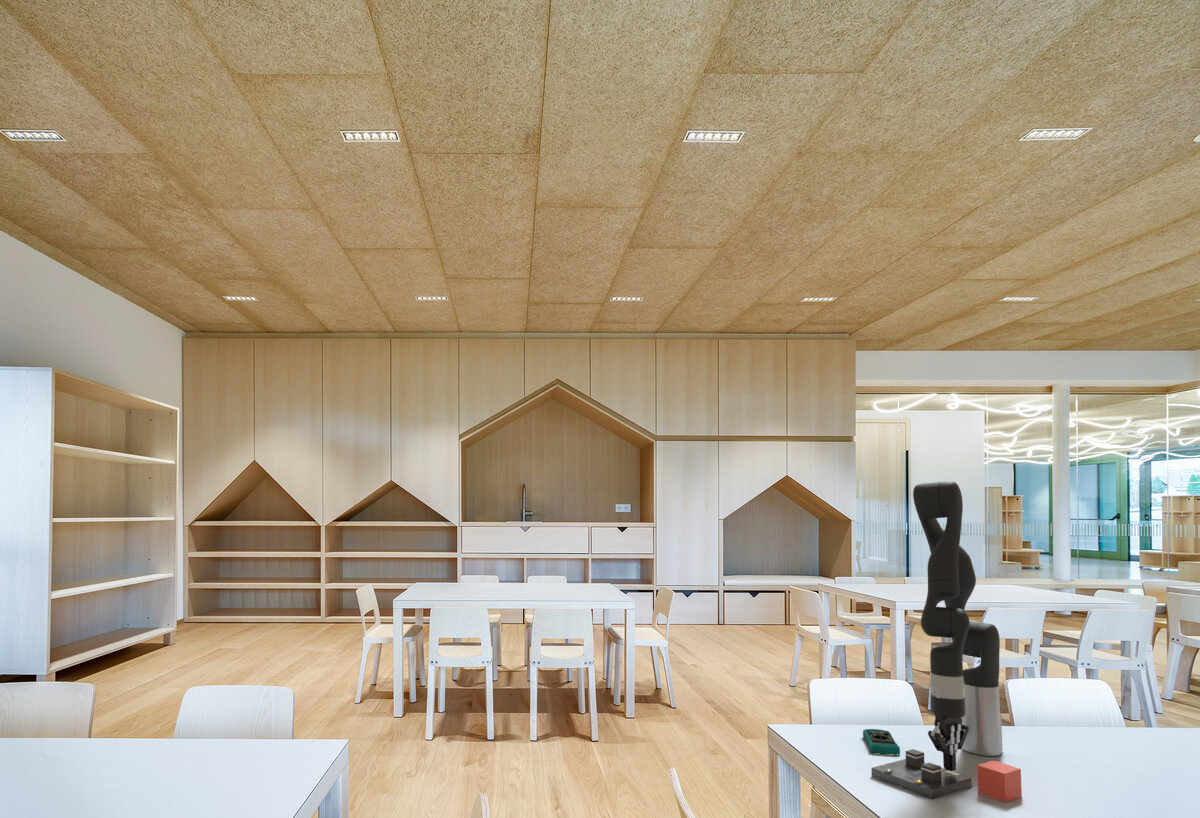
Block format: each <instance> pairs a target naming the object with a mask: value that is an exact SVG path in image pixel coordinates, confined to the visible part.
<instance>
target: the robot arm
mask: <svg viewBox="0 0 1200 818" xmlns="http://www.w3.org/2000/svg"><path fill="white" fill-rule="evenodd" d="M912 496H913V503H914V507H915V511H916V514H917V515H918V519H919V522H920V524H921V527H922V530H923V532H924V535H925V538H926V540H927V543H928V547H929V550H930V552H929V553H930V555H929V557H928V561H927V595H926V600H925V604H924V606H923V607H924V608H923V610H922V613H921V619H920V625H921V629H922V631H923V633H924V634H926V635H927V636H928V637H932V638H933V637H934V638H944V639H945V638H946V639H947V638H949V639H951V641H952V642H951V643H950V644H948V645H944V646H943V645H941V646H936V647H932V648H931V650H930V652H929V653H930V654H929V656H930V657H929V658H930V661H929V662H930V665H929V666H930V678H929V691H930V692H929V694H930V695H929V697H930V712H931V713H932V714H933V715H934V717H935V719H934V723H933V724H934V725H933V726H934V728H933V730H928V731H927V735H928V737H929V739H930V740H931V743H932V744H933V746H934V748H935V749H936V751H938V752H941V753H942V757H943V759H942V760H943V764H942V765H943V768H944V769H946V770H949V771H953V772H955V771H956V770H957V754H958V751H959V750H960V751H961V750H964V751H965V752H967V753H971V754H974V755H978V756H985V757H996V756H1000V755H1001V754H1002V752H1003V731H1002V726H1003V725H1002V715H1001V711H1000V709H1001V708H1000V707H1001V706H1000V687H999V686H1000V683H999V679H1000V652H1001V651H1000V648H1001V647H1000V646H1001V645H1000V642H1001V640H1000V633H999V630H998V628H997V627H996V625H995V624H991V623H989V622H979V621H972V620H970V618H969V615H968V614H967V612H966V610H965V609H966V606H967V603H968V601H969V599H970V597H971V595H972V594H973V592H974V589H975V587H976V584H977V577H976V574H975V573H976V572H975V570H974V566H973V563H972V562H973V561H972V559H971V557H970V555H969V554H968V553H967V551H966V550H965V549H964V548H963V547H962V546H961V544H960V543H961V534H962V524H963V523H962V522H963V510H964V509H963V507H964V506H963V495H962V491H961V488H960V486H959V484H958V483H957V482H956V481H954V480H945V481H943V480H942V481H932V482H923V483H919V484H916V485H915V487H913V491H912ZM944 518H946V524H945V528H944V529H943V528H942V527H941V525H940V523H939V521H938V519H944ZM941 602H944V605H945V606H943V607H942V606H938V604H940V603H941ZM963 656H967V657H973V658H979V659H980V664H979V665H978V666H976V667H970V668H966V669H964V667H963V664H964V663H963Z"/></svg>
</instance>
